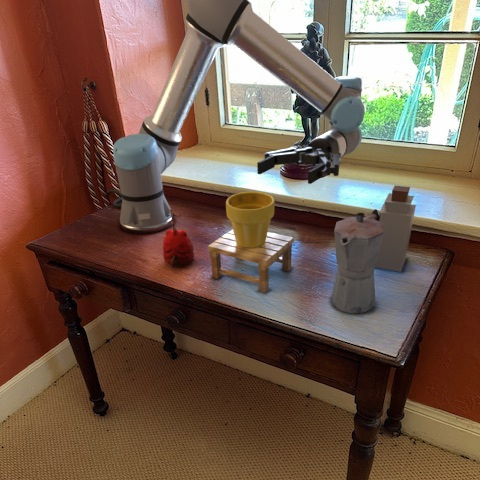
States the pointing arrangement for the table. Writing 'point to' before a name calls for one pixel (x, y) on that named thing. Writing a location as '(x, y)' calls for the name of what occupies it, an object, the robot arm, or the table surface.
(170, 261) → the red clay folk toy
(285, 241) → the plant rack
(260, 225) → the flower pot
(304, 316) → the table surface
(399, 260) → the perfume bottle
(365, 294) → the moka pot
